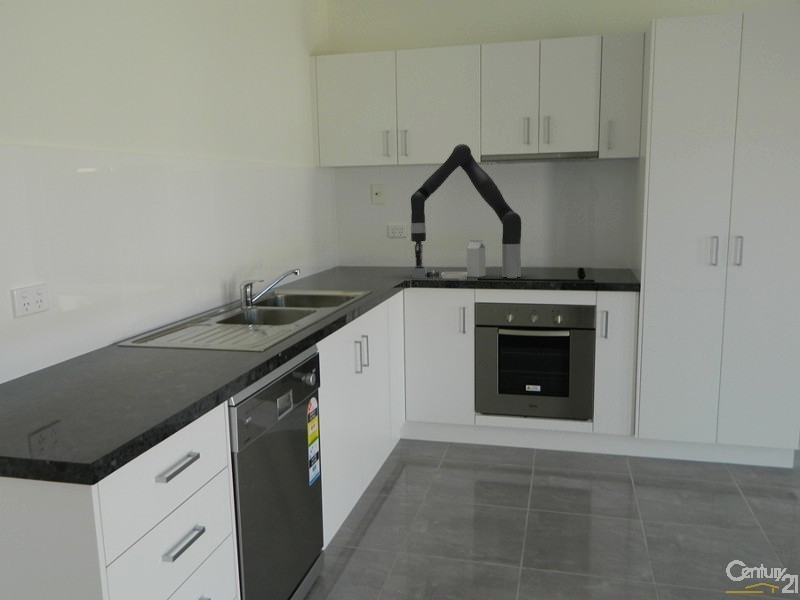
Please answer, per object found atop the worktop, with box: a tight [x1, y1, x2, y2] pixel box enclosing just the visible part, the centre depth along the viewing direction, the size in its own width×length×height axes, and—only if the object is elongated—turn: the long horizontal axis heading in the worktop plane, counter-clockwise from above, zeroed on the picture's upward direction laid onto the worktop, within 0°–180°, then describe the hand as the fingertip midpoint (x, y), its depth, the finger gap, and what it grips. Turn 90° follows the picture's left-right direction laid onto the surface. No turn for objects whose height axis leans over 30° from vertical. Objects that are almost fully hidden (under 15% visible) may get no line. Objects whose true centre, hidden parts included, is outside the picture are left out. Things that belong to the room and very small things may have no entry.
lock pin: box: [415, 253, 423, 268], centre depth 345 cm, size 3×3×12 cm
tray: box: [440, 271, 468, 282], centre depth 343 cm, size 13×12×3 cm
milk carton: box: [466, 239, 486, 278], centre depth 350 cm, size 7×7×19 cm
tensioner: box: [411, 266, 441, 279], centre depth 345 cm, size 14×10×6 cm
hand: (419, 265), depth 345 cm, fingers open, 4 cm apart
